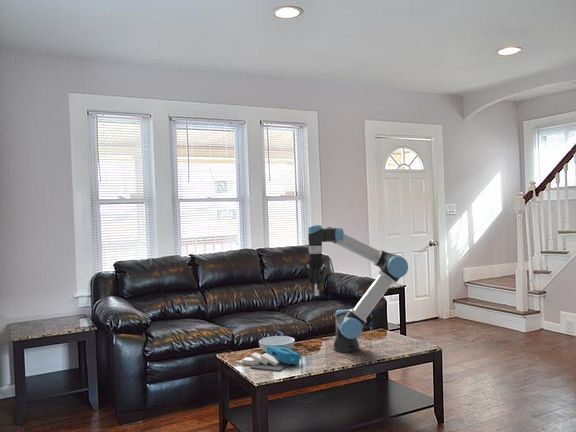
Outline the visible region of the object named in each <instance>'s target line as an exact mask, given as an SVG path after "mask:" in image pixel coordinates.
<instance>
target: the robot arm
mask: <svg viewBox="0 0 576 432" xmlns="http://www.w3.org/2000/svg"><path fill="white" fill-rule="evenodd" d="M307 230H308V231H307V236H308V238H307V239H308V253H309V254H308V264H306V265H304V269H305V270H306V273H307V274H306V275H307V277H308V282H309V283H310V284H312V290H314V297H318V296H320V290H321V284H322V283H324V280H325V276H326V271H327V269H328V265H326V264H325V263H324V261H323V257H324V256H323V243H325V242H326V243H333V244H335V245H337V246H339V247H341V248H343V249H345V250H346V251H347V250H348V251H349V252H351V253H354V254H355V255H358V256H359V257H362V258H363V259H366V260H368V261H370V262H371V263H372V264H373V266H376V267H378V268H379V269H378V273H379V274H378V275H377V277H376V278H375V280H374V281H372V283H371V285H370V286H369V287H368V289H367V290H366V291H365V293H364V294H363V295H362V296H361V298H360V300H359V301H358V302H357V304H356V305H355V306H354V307H353V308H348V309H337V310H336V311H335V315H334V316H335V339H334V342H333V346H332V347H333V351H335V352H339V353H348V354H349V353H355V352H358V351H359V350H360V344H359V341H358V337H360V335H361V334H362V333H363V328H364V326H365V325H366V323H367V322H368V321H367V318H368V316H369V315H370V314H371V312H372V311H373V309H375V307H376V305H377V304H379V302H380V300H381V299H382V298H383V297H384V295H385V294H386V292H387V291H388V290H389V288H391V285H393V284H396V283H397V282H398V281H399V280H400V279H401V278H403V277H404V276H405V275H406V274H407V273H408V270H409V264H408V261H407V259H405V257H403V256H401V255H398V254H395V253H391V252H387V251H385V250H382V249H377V248H374V247H372V246H370V245H368V244H366V243H364V242H362V241H360V240H358V239H356V238H354V237H352V236H350V235H347V234H346V233H344V229H343V228H342V227H331V226H328V227H326V228H323V227H322V225H321V224H318V225H317V224H313V225H309V226H308V229H307ZM310 268H311V269H310Z"/></svg>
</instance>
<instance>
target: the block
mask: <svg viewBox="0 0 576 432" xmlns="http://www.w3.org/2000/svg"><path fill="white" fill-rule="evenodd" d="M265 353H267V354H269V355H271V356H273V357H274V358H275V359H277V360H279V361H282V362H284V363H289V364H290V365H291V364H292V365H299V364H300V362H301V354H299V353H298V352H296V351H295V350H292V349H291V350H290V349H287V348H284V347H275V346H268V347H267V351H266V352H265Z"/></svg>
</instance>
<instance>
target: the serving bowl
mask: <svg viewBox="0 0 576 432" xmlns="http://www.w3.org/2000/svg"><path fill="white" fill-rule="evenodd" d="M295 342H296V341H295V338H294V337H291V336H287V335H274V336H266V337H263V338H261V339H260V340H258V346H259V347H260V349H261V350H262V351H263V352H264V353H266V351H267V347H268V346H275V347H284V348H287V349H290V350H292V349H293V348H294V346H295Z"/></svg>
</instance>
